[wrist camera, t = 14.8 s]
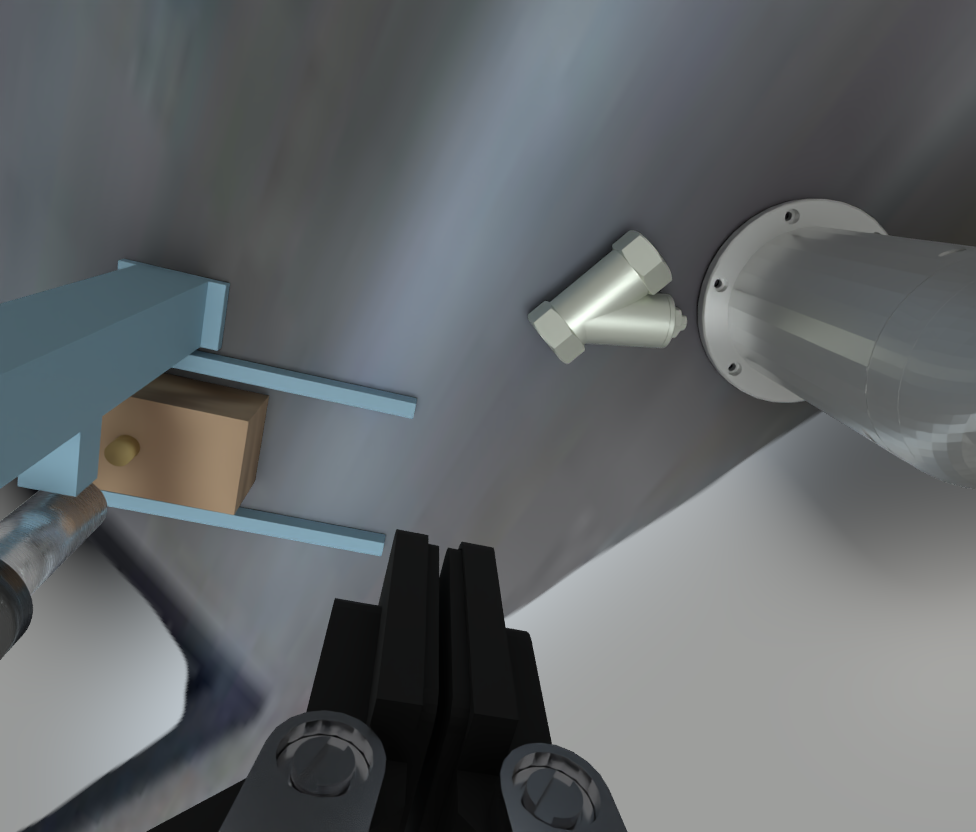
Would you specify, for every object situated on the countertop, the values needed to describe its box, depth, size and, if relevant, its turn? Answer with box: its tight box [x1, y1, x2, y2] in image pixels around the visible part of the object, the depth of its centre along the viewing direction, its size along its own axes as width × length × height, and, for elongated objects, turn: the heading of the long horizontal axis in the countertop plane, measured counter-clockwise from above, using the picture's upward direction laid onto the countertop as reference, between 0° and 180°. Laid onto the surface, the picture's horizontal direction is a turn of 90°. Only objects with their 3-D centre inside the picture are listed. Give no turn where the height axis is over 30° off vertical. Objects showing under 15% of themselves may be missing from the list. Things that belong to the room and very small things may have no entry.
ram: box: [0, 483, 107, 660], centre depth 29 cm, size 5×5×10 cm
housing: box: [92, 373, 269, 515], centre depth 41 cm, size 8×6×6 cm
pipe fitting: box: [528, 230, 687, 364], centre depth 41 cm, size 8×4×7 cm
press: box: [0, 259, 417, 556], centre depth 32 cm, size 21×16×24 cm
